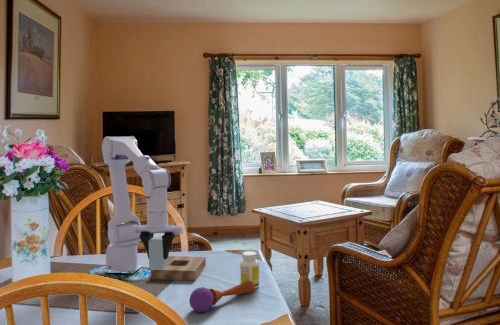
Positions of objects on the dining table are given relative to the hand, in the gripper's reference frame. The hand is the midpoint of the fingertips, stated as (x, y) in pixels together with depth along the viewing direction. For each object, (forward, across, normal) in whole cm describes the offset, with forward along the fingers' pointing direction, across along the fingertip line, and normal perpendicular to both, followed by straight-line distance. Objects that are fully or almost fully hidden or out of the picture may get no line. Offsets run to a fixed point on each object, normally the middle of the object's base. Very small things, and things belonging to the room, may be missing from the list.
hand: (158, 257), depth 114 cm
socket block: (+9, +2, +14) cm, 17 cm away
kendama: (+9, +20, -8) cm, 24 cm away
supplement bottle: (+9, +26, +4) cm, 28 cm away
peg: (+2, 0, 0) cm, 2 cm away
